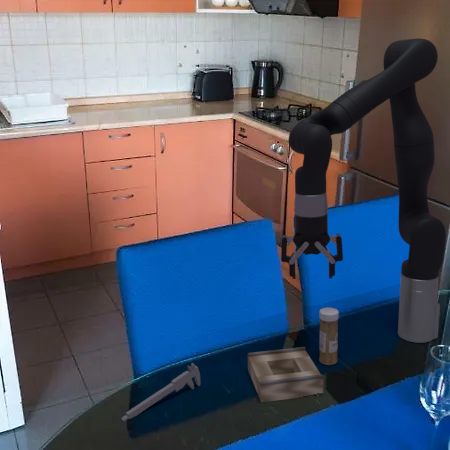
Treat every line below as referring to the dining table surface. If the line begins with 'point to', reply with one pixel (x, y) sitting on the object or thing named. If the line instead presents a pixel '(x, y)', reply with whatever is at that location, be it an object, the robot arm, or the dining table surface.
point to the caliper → (167, 390)
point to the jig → (284, 374)
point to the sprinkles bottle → (328, 335)
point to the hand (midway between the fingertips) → (312, 277)
